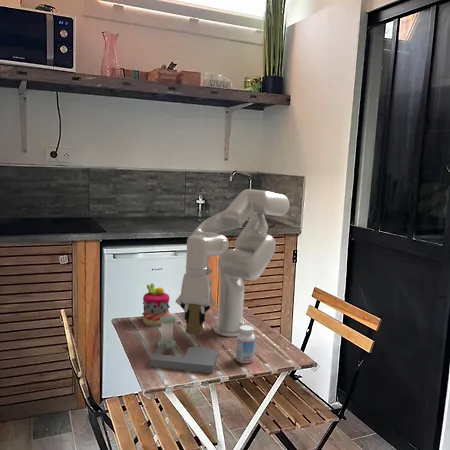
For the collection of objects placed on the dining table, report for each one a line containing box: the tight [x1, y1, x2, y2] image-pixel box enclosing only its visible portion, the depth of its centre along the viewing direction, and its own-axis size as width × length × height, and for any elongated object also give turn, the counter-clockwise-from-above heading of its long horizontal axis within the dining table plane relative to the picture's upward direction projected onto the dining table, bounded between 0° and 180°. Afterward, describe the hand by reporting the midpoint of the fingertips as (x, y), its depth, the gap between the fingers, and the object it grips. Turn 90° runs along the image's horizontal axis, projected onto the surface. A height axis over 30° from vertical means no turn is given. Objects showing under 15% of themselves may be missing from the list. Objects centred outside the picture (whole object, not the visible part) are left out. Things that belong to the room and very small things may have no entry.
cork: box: [185, 304, 204, 336], centre depth 159 cm, size 6×6×11 cm
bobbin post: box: [157, 314, 177, 350], centre depth 160 cm, size 6×6×10 cm
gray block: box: [149, 344, 219, 374], centre depth 149 cm, size 20×12×2 cm, turn 83°
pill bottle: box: [235, 325, 256, 364], centre depth 152 cm, size 6×6×11 cm
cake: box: [141, 282, 170, 327], centre depth 182 cm, size 10×11×15 cm
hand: (194, 322), depth 159 cm, fingers closed on cork, 4 cm apart
